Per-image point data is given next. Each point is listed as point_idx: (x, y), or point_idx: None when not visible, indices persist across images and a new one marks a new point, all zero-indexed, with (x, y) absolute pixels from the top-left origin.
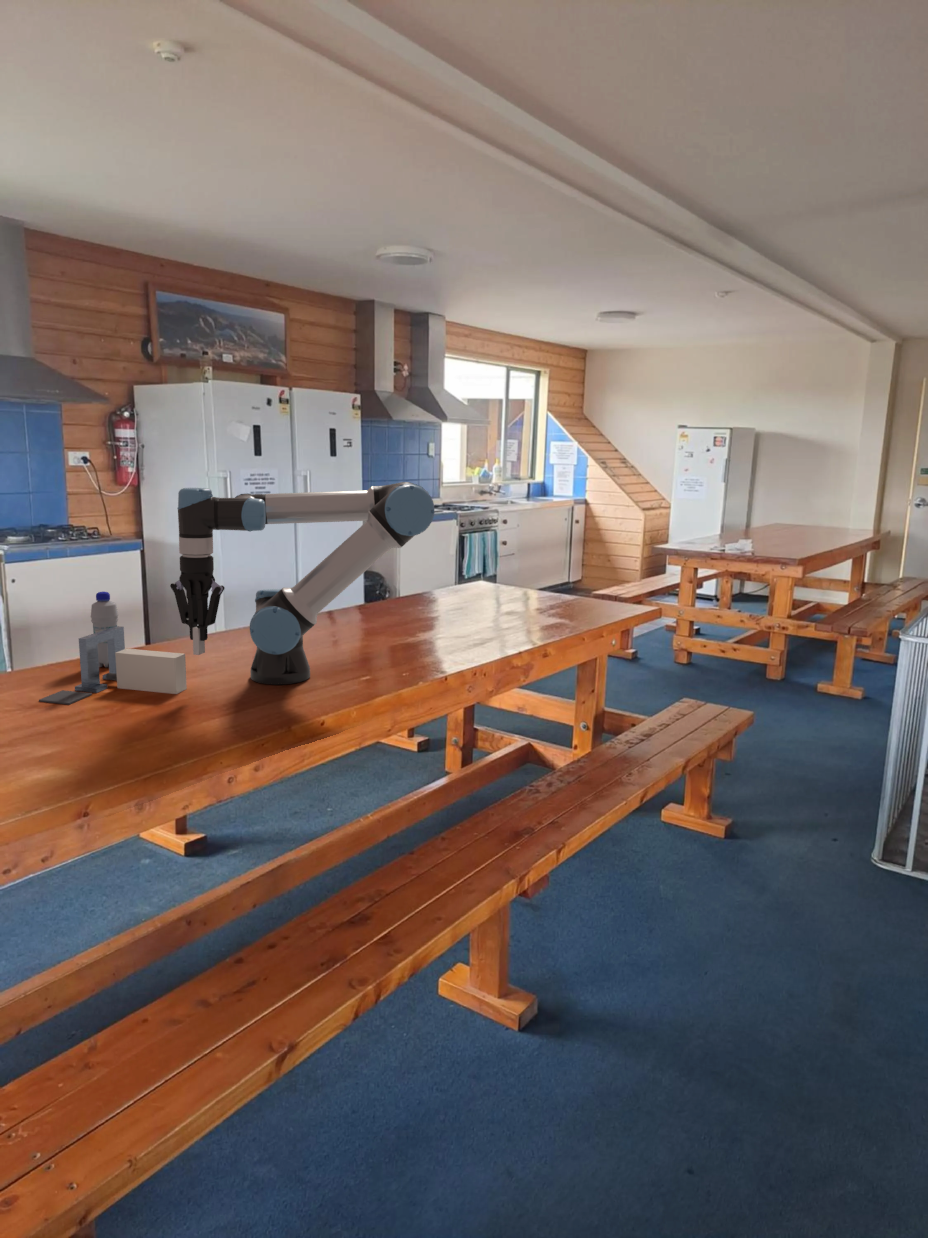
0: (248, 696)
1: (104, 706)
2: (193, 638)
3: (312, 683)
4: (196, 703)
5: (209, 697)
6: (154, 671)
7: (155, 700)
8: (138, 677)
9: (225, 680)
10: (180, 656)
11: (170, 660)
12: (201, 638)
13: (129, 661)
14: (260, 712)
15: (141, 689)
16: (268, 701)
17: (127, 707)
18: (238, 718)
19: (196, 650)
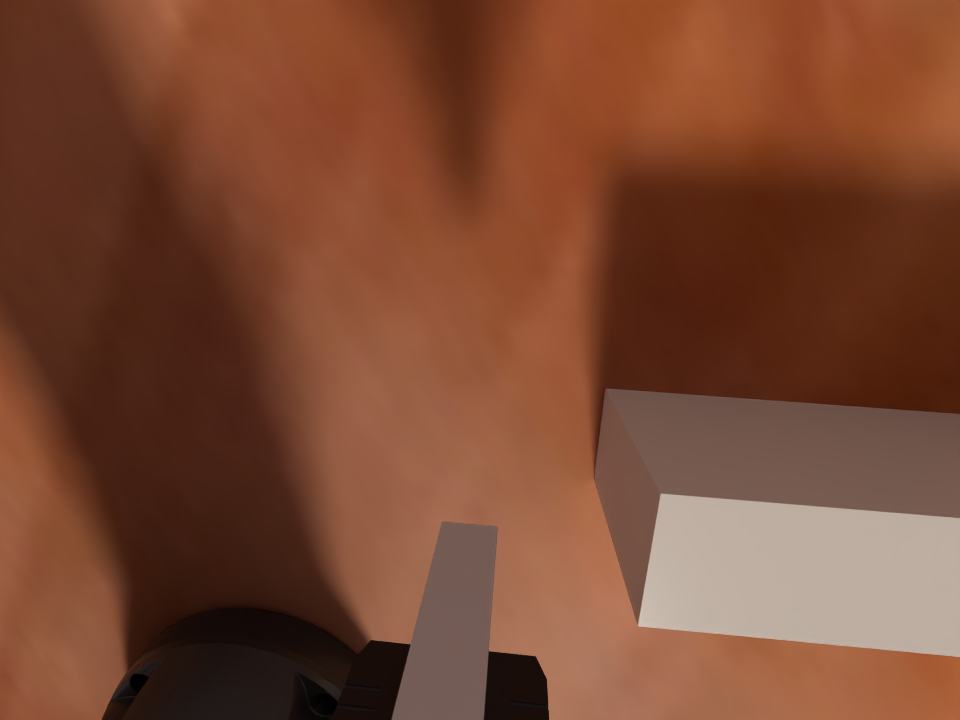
0: (241, 431)
1: (928, 61)
2: (480, 646)
3: (91, 658)
4: (424, 261)
5: (412, 374)
6: (797, 450)
7: (667, 255)
8: (891, 436)
9: None
10: (646, 562)
11: (696, 485)
12: (392, 665)
13: None
14: (40, 201)
15: (826, 405)
16: (110, 379)
17: (774, 83)
18: (79, 68)
19: (462, 550)
